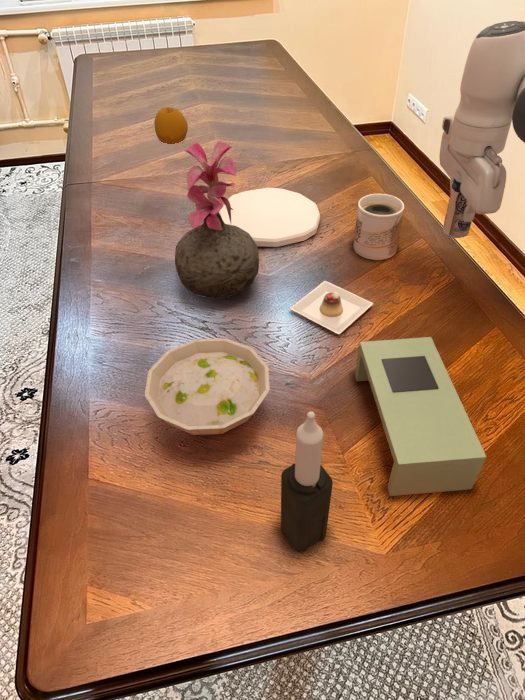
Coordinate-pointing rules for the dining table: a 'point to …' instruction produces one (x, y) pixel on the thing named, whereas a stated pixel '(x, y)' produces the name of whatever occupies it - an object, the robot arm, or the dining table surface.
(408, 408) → the shelf
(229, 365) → the bowl
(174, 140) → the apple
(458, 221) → the beer can
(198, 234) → the vase
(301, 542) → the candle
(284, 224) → the decorative plate
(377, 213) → the mug
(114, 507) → the dining table surface
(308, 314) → the dessert
